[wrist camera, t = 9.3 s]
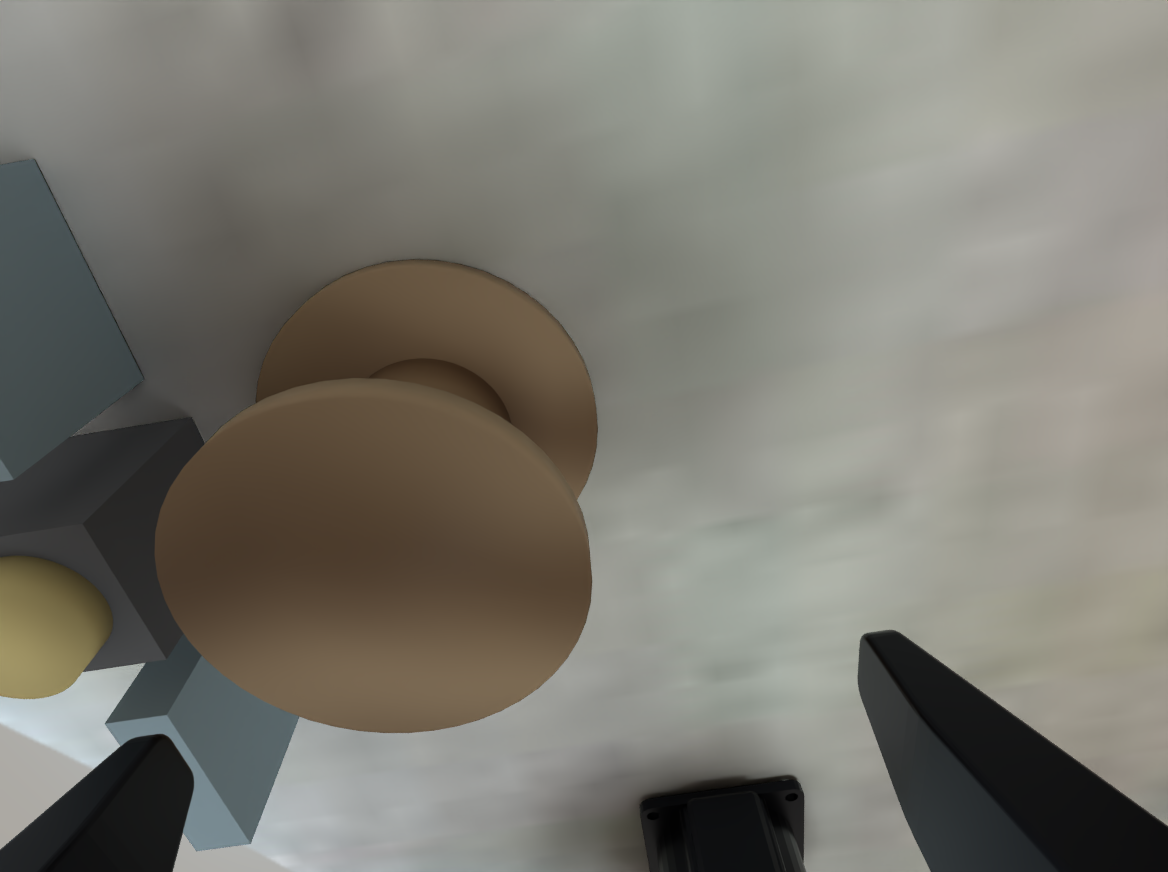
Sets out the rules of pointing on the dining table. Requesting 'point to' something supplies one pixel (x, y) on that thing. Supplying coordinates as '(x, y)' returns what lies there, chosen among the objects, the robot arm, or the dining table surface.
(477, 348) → the bobbin
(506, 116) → the dining table surface
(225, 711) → the grey blocks
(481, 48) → the dining table surface
